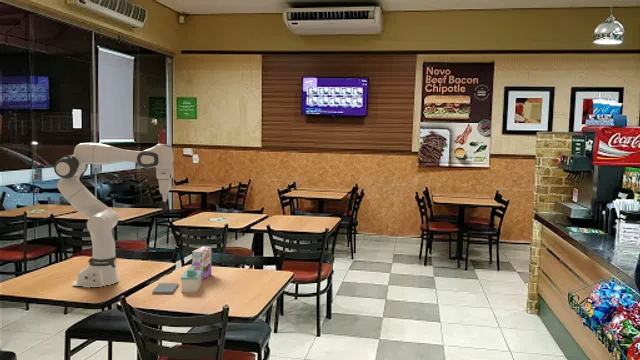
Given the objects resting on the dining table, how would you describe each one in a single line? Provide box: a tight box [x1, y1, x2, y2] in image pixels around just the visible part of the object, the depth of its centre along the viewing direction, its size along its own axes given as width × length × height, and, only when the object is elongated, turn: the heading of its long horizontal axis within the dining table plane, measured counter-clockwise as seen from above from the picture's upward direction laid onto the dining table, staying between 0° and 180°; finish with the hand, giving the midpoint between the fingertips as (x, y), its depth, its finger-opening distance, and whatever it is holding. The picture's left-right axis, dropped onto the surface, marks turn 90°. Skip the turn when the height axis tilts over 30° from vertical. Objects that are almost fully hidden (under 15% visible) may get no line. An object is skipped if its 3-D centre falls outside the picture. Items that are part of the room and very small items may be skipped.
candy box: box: [191, 246, 212, 282], centre depth 272 cm, size 14×6×16 cm, turn 168°
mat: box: [151, 282, 179, 295], centre depth 249 cm, size 10×14×1 cm
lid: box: [180, 265, 202, 280], centre depth 251 cm, size 9×13×5 cm
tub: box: [180, 275, 202, 294], centre depth 251 cm, size 8×12×7 cm, turn 5°
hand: (165, 200), depth 256 cm, fingers open, 8 cm apart
